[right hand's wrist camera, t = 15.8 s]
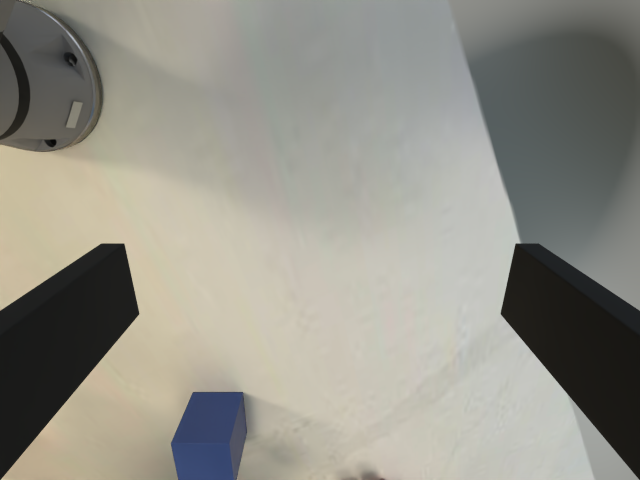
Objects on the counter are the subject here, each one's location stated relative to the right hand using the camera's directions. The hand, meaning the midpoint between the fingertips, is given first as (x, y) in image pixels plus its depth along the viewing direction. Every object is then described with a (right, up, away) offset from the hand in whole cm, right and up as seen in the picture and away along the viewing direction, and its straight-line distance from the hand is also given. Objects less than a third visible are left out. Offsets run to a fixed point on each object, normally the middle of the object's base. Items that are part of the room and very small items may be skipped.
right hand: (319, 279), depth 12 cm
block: (-16, -27, +47) cm, 56 cm away
